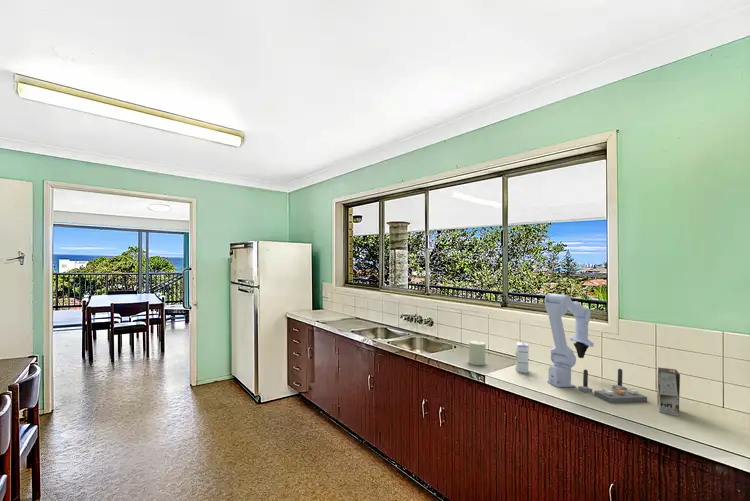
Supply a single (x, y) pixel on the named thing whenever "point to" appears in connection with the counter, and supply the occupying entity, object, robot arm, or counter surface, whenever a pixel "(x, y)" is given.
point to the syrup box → (522, 357)
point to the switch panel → (620, 397)
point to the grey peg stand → (585, 383)
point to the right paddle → (632, 391)
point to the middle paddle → (620, 391)
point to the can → (477, 352)
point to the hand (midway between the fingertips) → (580, 357)
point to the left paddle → (608, 391)
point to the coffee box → (668, 391)
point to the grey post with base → (619, 381)
